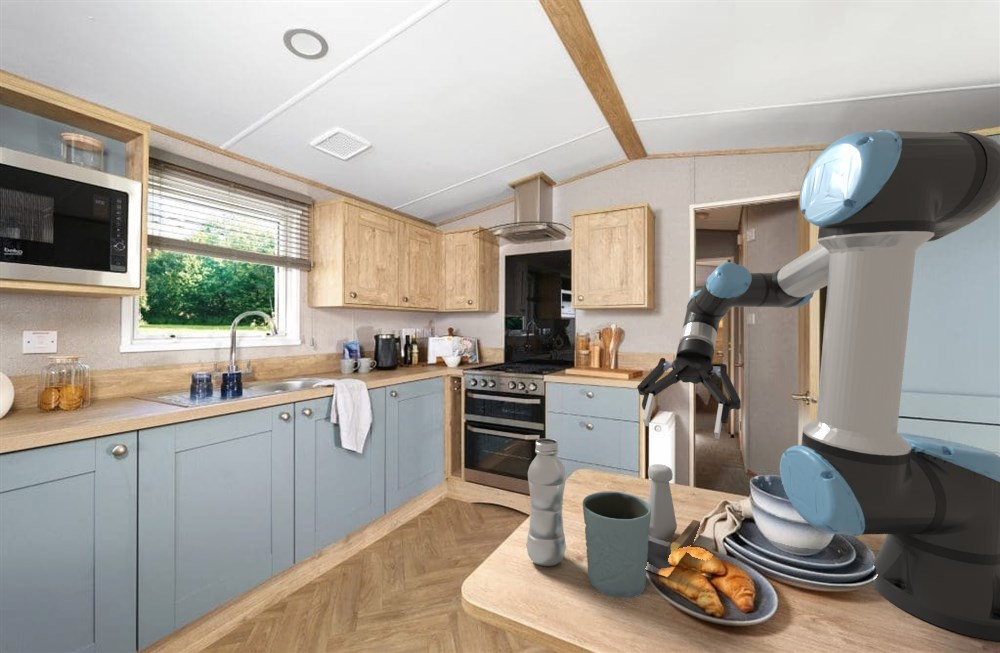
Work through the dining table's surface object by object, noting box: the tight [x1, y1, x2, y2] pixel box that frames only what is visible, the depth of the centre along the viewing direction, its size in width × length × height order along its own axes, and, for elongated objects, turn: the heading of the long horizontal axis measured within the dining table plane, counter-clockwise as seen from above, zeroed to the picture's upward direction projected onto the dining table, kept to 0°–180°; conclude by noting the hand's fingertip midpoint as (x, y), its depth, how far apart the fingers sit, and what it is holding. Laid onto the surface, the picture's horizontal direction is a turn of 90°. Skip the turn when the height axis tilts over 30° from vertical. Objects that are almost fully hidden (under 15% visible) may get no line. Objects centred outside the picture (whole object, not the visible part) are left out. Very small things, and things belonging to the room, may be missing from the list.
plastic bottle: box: [526, 438, 567, 567], centre depth 70 cm, size 6×7×20 cm
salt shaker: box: [646, 463, 678, 542], centre depth 79 cm, size 6×6×13 cm
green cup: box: [582, 490, 651, 599], centre depth 65 cm, size 10×10×12 cm
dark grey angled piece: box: [647, 519, 701, 569], centre depth 76 cm, size 11×18×5 cm, turn 140°
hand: (679, 429), depth 85 cm, fingers open, 13 cm apart
